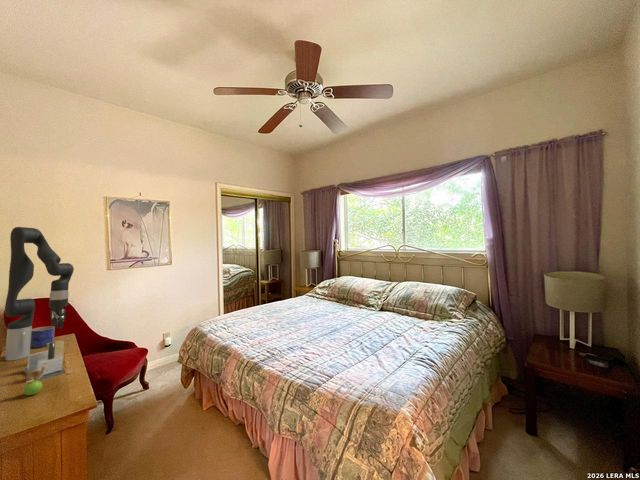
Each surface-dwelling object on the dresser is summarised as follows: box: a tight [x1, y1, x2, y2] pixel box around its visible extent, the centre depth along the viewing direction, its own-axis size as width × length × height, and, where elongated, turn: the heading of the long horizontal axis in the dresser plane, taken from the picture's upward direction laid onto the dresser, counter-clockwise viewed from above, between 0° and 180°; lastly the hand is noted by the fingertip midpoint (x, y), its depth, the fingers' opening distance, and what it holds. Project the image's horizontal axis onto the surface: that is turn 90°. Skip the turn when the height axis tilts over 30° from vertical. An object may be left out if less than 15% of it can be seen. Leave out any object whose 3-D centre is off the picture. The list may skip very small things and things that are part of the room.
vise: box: [22, 349, 66, 381], centre depth 128 cm, size 18×10×8 cm, turn 62°
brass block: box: [46, 340, 65, 358], centre depth 142 cm, size 4×6×10 cm, turn 152°
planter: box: [30, 325, 56, 349], centre depth 163 cm, size 11×11×11 cm
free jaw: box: [37, 341, 64, 375], centre depth 125 cm, size 4×8×14 cm, turn 152°
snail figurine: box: [22, 362, 47, 396], centre depth 109 cm, size 5×6×12 cm
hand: (57, 327), depth 143 cm, fingers open, 8 cm apart
